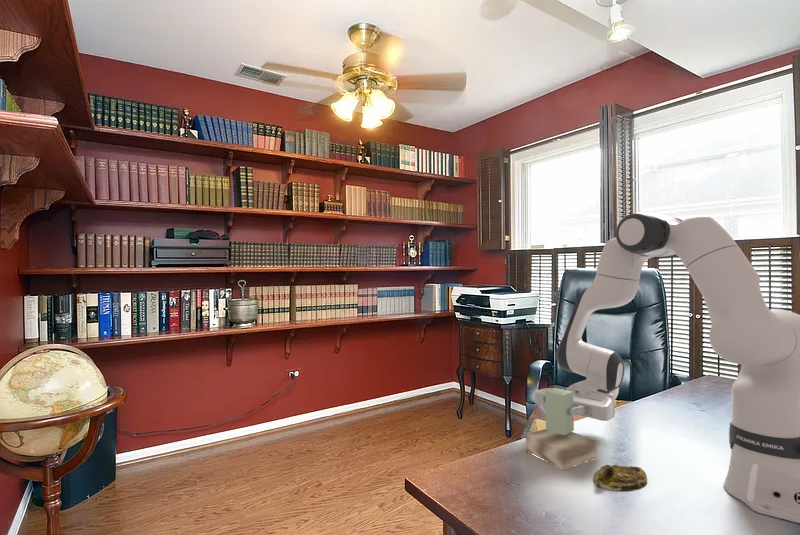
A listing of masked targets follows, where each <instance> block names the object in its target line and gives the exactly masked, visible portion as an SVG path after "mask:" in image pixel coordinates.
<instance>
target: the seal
mask: <svg viewBox="0 0 800 535" xmlns="http://www.w3.org/2000/svg"><path fill="white" fill-rule="evenodd" d="M593 483H594V484H595V485H596V487H597V488H600V489H604V490H609V491H616V492H629V491H633V490H634V491H635V490H636V489H637V490H638V489H642V488H643V487H645V486H646V485H647V483H648V478H647V474H646V471H645V470H644V469H643V468H641V467H639V466H632V465H631V466H626V465H625V466H624V465H618V464H613V465H610V464H605V465H603V466H600V468H599V469H597V470H596V471H595V472H594V475H593Z"/></svg>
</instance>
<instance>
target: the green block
mask: <svg viewBox="0 0 800 535" xmlns="http://www.w3.org/2000/svg"><path fill="white" fill-rule="evenodd" d="M552 388H553V387H552ZM569 407H574V406H573V391H568V390H567V389H562V388H557V387H554V388H553V389H550V390H548V391H546V409H545V429H546V430H548V431H551V432H555V433H558V434H561V435H566V434H568V433H570V432H574V430H575V427H574V426H575V425H574V423H575V422H574V421H575V419H574V418H575V416H570V415H567V408H569Z"/></svg>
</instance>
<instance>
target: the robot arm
mask: <svg viewBox="0 0 800 535" xmlns="http://www.w3.org/2000/svg"><path fill="white" fill-rule="evenodd" d="M677 256H678V258H679V259H680V261H681V262H682V264H683V266H684V267H685V269H686V270H687V272H688V274H689V275H690V278H692V280H693V282H694V284H695V285H696V287H697V288H698V290H699V292H700V293H701V295H702V298H703V299H704V303H705V305H706V308H707V310H708V316H709V319H710V324H711V327H710V329H709V330H710V331H709V332H708V333H709V334H708V338H709V343H710V344H709V345H710V347H711V348H712V350H713V351H714V352H715V353H716V355H717V356H719V357H720V358H721V359H722V360H724V361H727V362H728V363H732V364H737V365H741V366H740V370H739V373H738V375H737V377H736V379H735V380H734V382H733V384H732V387H731V422H730V423H729V427H728V443H729V447H730V449H731V450H730V460H729V464H728V470H727V473H726V474H727V475H726V477H725V480H724V482H723V487H724V489H725V490H726V491H727V493H729V494H730V495H732V496H733V497H735V498H736V499H738V500H740V501H741V502H743V503H745V504H746V505H747V507H749V509H751V510H752V511H754V512H755V513H759V514H762V515H766V516H771V517H773V518H778V519H782V520H786V521H790V522H794V523H796V524H800V314H798V313H796V312H794V311H793V312H792V311H789V310H785V309H780V308H779V309H778V308H777V309H774V308H773V309H769V307H768V305H767V304H766V302H765V299H764V296H763V293H762V292H761V291H762V290H761V288H760V283H761V282H760V281H761V278H760V275H759V274H758V272H757V271H756V269H755V268H754V267H753V265H752V263H751V261H749V259H748V258H747V256H746V255H745V254H744V251H743V250H742V249H741V247H740V246H739V245H738V244H737V242H736V241H735V239H734V238H733V237H732V236H731V235H730V234H729V233H728V232H727V230H726V229H725V228H724V227H723V226H722V225H721V224H720V223H718V221H716V220H715V219H714V218H713V217H711V216H708V215H704V214H703V215H701V214H699V215H692V216H689V217H687V218H684V219H681V218H677V217H671V216H669V215H665V214H662V213H656V212H655V213H654V212H645V211H640V212H634V213H631V214H627V215H626V216H624V217H623V218H622V219H621V220H620V221H619V222H618V224H617V226H616V229H615V237H612V238H611V239H608V240H607V241H606V242H605V244H604V246H603V249H602V251H601V254H600V257H599V260H598V264H597V268H596V273H595V277H594V279H593V282H592V283H591V285H590V286H589V287H588V288H584V289H582V291H581V292H580V294H579V296H578V298H577V299H576V301H575V305H574V306H573V309H572V313H571V315H570V318H569V320H568V323H567V326H566V328H565V332H564V334H563V337H562V338H561V340H560V342H559V344H558V345H557V348H556V352H555V359H556V362H557V363H558V366H559V367H560V368H561V370H563V371H566V372H570V373H573V374H577V375H580V376H583V377H585V379H584V380H581V381H578V382H575V383H572V384H570V385H569V386H568V387H567V388H566V390H568V391H573V406H574V407H569V408H567V415H570V416H574V417H575V416H579V417H586V418H590V419H593V420H597V421H601V422H609V421H610V420H612V419H613V418H615V413H616V399H617V397H618V395H619V391H620V386H621V385H622V383H623V379H624V376H625V364H624V361H623V359H622V357H621V355H620V354H619V353H618V352H617V351H615V350H611V349H608V348H604V347H603V346H602V347H601V346H598V345H594V344H593V343H588V342H585V341H583V338H582V337H583V334H584V332H585V329H586V326H587V323H588V322H589V318H590V316H591V314H593V313H594V312H596V311H598V310H605V309H614V308H620V307H623V306H626V305H627V304H629V303H630V302H632V300H634V298H635V297H636V295H637V292H638V288H639V286H640V285H639V284H640V279H641V276H642V275H641V274H642V269H643V265H644V264H645V263H646V262H647V261H648V260H650V259H652V260H660V259H667V258H668V259H669V258H674V257H677ZM550 389H553V387H552V388H551V387H547V388H546V387H545V388H540V389H537V390H535V391H534V393H533V400H534V403H535V404H536V405H538V406H542V407H543V408H544V410H546V391H548V390H550Z"/></svg>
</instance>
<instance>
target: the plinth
mask: <svg viewBox="0 0 800 535" xmlns="http://www.w3.org/2000/svg"><path fill="white" fill-rule="evenodd" d="M596 443H597V442H596V440H594V439H592V438H589V437H586V436H584V435H581V434H579V433H577V432H574V431H572V432H570V433H568V434H566V435H561V434H558V433H555V432H551V431H548V430H546V428H545V429H541V430H538V431H534V432H529V433H526V434H525V452H526V451H527V452H529V453H531V454H534V455H536V456H538V457H540V458H542V459H544V460H546V461H548V462H549V463H552V464H553V465H555V466H557V467H559V468H561V469H563V470H562V471H565V470H564V469H566V470H568V469H567V468H569V469H571V468H570V467H572V468H574V467H573V466H575V465H578V464H581V463H584V462H586V461H590V460H593V459H596V460H597V456H596V455H597V452H596V451H597V449H596V448H597V446H596V445H597V444H596ZM527 452H526V453H527ZM529 453H528V454H529ZM531 454H530V455H531ZM593 461H594V460H593ZM590 462H591V461H590ZM549 463H548V464H549ZM584 464H585V463H584ZM553 465H552V466H553ZM581 465H582V464H581ZM555 466H554V467H555ZM578 466H579V465H578ZM557 467H556V468H557ZM575 467H576V466H575ZM559 468H558V469H559ZM561 469H560V470H561Z"/></svg>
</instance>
